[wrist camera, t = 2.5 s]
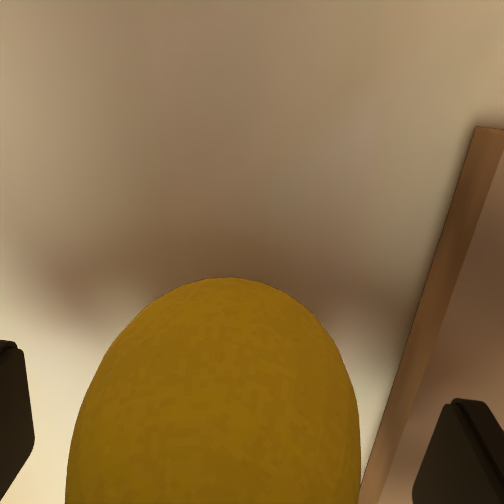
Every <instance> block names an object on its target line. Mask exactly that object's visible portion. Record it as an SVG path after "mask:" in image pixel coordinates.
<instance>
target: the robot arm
mask: <svg viewBox="0 0 504 504" xmlns="http://www.w3.org/2000/svg"><path fill="white" fill-rule="evenodd" d="M34 441H35V435H34V427H33V420H32V412H31V404H30V397H29V389H28V381H27V374H26V366H25V358H24V353H23V351H22V350H21V349H18V348H17V345H16V343H15V342H12V341H6V340H0V501H1V499H2V498H3V496H4V495H5V493H6V492H7V490H8V488H9V487H10V485H11V484H12V482H13V481H14V479H15V478H16V476H17V474H18V473H19V471H20V470H21V468H22V467H23V465H24V464H25V462H26V460H27V459H28V457H29V456H30V454H31V452H32V449H33V446H34ZM412 502H413V504H504V431H503V430H502V428H501V426H500V425H499V423H498V422H497V420H496V418H495V417H494V415H493V413H492V412H491V410H490V409H489V407H488V406H487V404H486V403H485V402H483V401H478V400H470V399H462V398H454V399H453V400H452V402H451V403H450V404H445V405H444V406H443V408H442V411H441V413H440V416H439V418H438V421H437V424H436V426H435V429H434V432H433V434H432V437H431V440H430V442H429V445H428V447H427V450H426V453H425V455H424V458H423V461H422V463H421V466H420V468H419V471H418V474H417V476H416V479H415V482H414V484H413V488H412Z"/></svg>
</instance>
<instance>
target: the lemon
mask: <svg viewBox="0 0 504 504" xmlns="http://www.w3.org/2000/svg"><path fill="white" fill-rule="evenodd" d="M360 480H361V447H360V428H359V414H358V408H357V401H356V397H355V393H354V390H353V386H352V384H351V381H350V378H349V376H348V373H347V371H346V368H345V366H344V363H343V360H342V358H341V355H340V353H339V350H338V348H337V347H336V345H335V343H334V341H333V340H332V338H331V337H330V335H329V334H328V333H327V331H326V330H325V329H324V328H323V326H322V325H321V324H320V323H319V321H318V320H317V319H316V318H315V316H314V315H313V314H312V313H311V312H310V311H309V310H308V309H307V308H306V307H304V306H303V305H301V304H300V303H299V302H297V301H296V300H295V299H293V298H292V297H291V296H289V295H288V294H287V293H285V292H283V291H280V290H278V289H276V288H273V287H271V286H269V285H267V284H264V283H262V282H257V281H252V280H247V279H241V278H236V277H231V278H208V279H204V280H200V281H197V282H193V283H190V284H186V285H182V286H180V287H178V288H176V289H174V290H172V291H171V292H169V293H167V294H165V295H164V296H162V297H160V298H158V299H157V300H155V301H153V302H152V303H151V304H149V305H148V306H146V307H145V308H144V309H143V310H142V311H141V312H140V313H139V314H138V315H137V316H136V317H135V318H134V319H133V321H132V322H131V323H130V324H129V325H128V326H127V327H126V328H125V329H124V330H123V331H122V332H121V333H120V334H119V335H118V337H117V338H116V339H115V340H114V342H113V343H112V344H111V346H110V347H109V349H108V351H107V352H106V354H105V355H104V357H103V359H102V361H101V363H100V365H99V367H98V370H97V372H96V374H95V376H94V378H93V380H92V382H91V384H90V386H89V388H88V390H87V392H86V395H85V397H84V400H83V402H82V405H81V407H80V410H79V414H78V417H77V420H76V424H75V428H74V432H73V436H72V441H71V446H70V452H69V459H68V466H67V478H66V490H65V504H358V500H359V492H360Z"/></svg>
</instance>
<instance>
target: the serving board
mask: <svg viewBox="0 0 504 504" xmlns="http://www.w3.org/2000/svg"><path fill="white" fill-rule="evenodd" d="M454 398H462V399H470V400H478V401H483V402H485V403H486V404H487V406H488V407H489V409H490V410H491V412H492V413H493V415H494V417H495V418H496V420H497V422H498V423H499V425H500V426H501V428H502V430H503V431H504V130H501V129H492V128H484V127H476V129H475V132H474V135H473V138H472V141H471V144H470V148H469V151H468V154H467V157H466V160H465V163H464V166H463V169H462V172H461V176H460V179H459V182H458V185H457V188H456V191H455V194H454V197H453V200H452V204H451V207H450V210H449V213H448V216H447V219H446V222H445V225H444V228H443V232H442V235H441V238H440V241H439V244H438V247H437V250H436V253H435V256H434V260H433V263H432V266H431V269H430V272H429V275H428V278H427V281H426V285H425V288H424V291H423V294H422V297H421V300H420V303H419V306H418V309H417V313H416V316H415V319H414V322H413V325H412V328H411V331H410V334H409V337H408V341H407V344H406V347H405V350H404V353H403V356H402V359H401V362H400V365H399V369H398V372H397V375H396V378H395V381H394V384H393V387H392V390H391V393H390V397H389V400H388V403H387V406H386V409H385V412H384V415H383V418H382V421H381V425H380V428H379V431H378V434H377V437H376V440H375V443H374V446H373V449H372V453H371V456H370V459H369V462H368V465H367V468H366V471H365V474H364V477H363V481H362V484H361V487H360V492H359V500H358V504H413V502H412V488H413V484H414V482H415V479H416V476H417V474H418V471H419V468H420V466H421V463H422V461H423V458H424V455H425V453H426V450H427V447H428V445H429V442H430V440H431V437H432V434H433V432H434V429H435V426H436V424H437V421H438V418H439V416H440V413H441V411H442V408H443V406H444V405H445V404H450V403H451V402H452V400H453V399H454Z"/></svg>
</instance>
